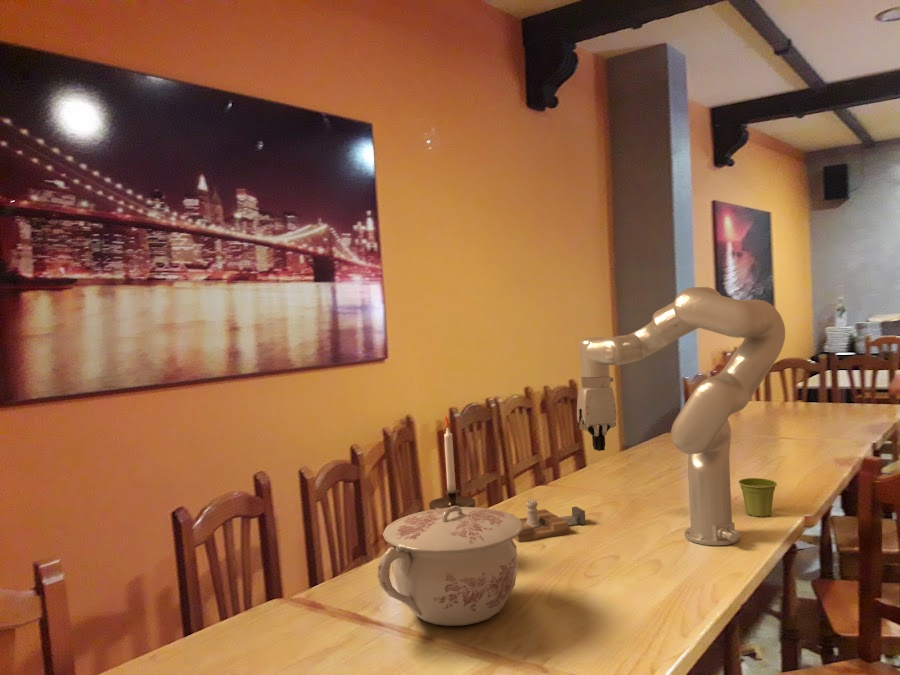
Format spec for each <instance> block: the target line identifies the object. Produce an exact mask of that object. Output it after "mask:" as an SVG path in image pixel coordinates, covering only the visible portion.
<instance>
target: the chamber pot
mask: <svg viewBox="0 0 900 675" xmlns="http://www.w3.org/2000/svg"><path fill="white" fill-rule="evenodd" d="M518 518H519V517H518V516H516V515H514V514H513V515H512V513H509V512H506V511H503V510H500V509H499V510H498V509H492V508H487V507H479V506H478V507H476V506H475V507H459V506H452V507H447V508H439V509H431V510H430V509H426V510H424V511H423V510H422V511H419V512H415V513H411V514H408V515H406V516H404V517H401V518H398V519H395V520H394V521H392V522H391V523H390V524H388V525H387V526H386V527H385V528H384V531H383V532H382V536H383V538H384V540H385V542H386V543H388V544H390V545H391V547H388V549H387V550H385V552H383V554H382V556H381V557H380V558H379V561H378V565H377V579H378V582H379V586H380V587H381V588H382V589H383V591H384V592H385V593H386V594H387V595H388V596H389V597H391V598H393V599H395V600H398V601H400V602H402V603H403V604H404V605H405V606H406V607H408V609H409V610H410V611H411V612H412V613H413V614H414V615H415V616H416V617H417V618H419V619H420V620H422V621H424V622H427V623H430V624H433V625H439V626H447V627H458V626H459V627H462V626H467V625H474V624H478V623H480V622H484V621H486V620H489V619H490V618H492V617H494V616H496V615H497V614H498V613H499V612H500V611H501V610H502V608H503V607H504V606H505V604H506V603H507V600H508V599H509V597H510V595H511V593H512V591H513V589H514V587H515V585H516V580H517V574H518V565H519V564H518V551H517V550H518V549H517V545H516V544H515V542H514V540H515V539H514V538H516V537H517V536H518V535H519V533H520V532H521V531H522V530H523V522H522V521H521V520H519V519H520V518H519V519H518ZM391 565H392V566H391ZM391 567H392V573H393V577H394V581H395V586H396V588H397V590H396V589H395V587H394V586H393V585H392V582H391V578H390V572H391V571H390V569H391Z"/></svg>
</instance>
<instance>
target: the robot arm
mask: <svg viewBox="0 0 900 675" xmlns="http://www.w3.org/2000/svg"><path fill="white" fill-rule="evenodd" d="M697 329H702V330H706V331H710V332H713V333H716V334H718V335H719V334H720V335H722V336H727V337H730V338H736V339H743V341H742V342H741V344H740V345H739V346H738V347H737V349H736V350H734V353H733V354H732V355H731V357H730V359H729V361H727V363H726V365H725V366H724V368H722V370H721V371H720V372H719V373H718V374H716V375H713V376H710V377H707V378H706V379H704V380H703V381H701V382H700V383H699V384H698V385H697V386H696V387H695V389H694V390H693V391H692V393H691V394H690V396H689V397H688V399H687V401H686V402H685V404H684V405H683V407H682V408H681V409H680V411H679V413H678V414H677V416H676V417H675V419H674V421H673V423H672V425H671V429H670V430H671V431H670V437H671V440H672V443H673V444H674V447H675V448H676V449H678V451H680V452H681V453H684V454H685V455H687V471H688V472H687V473H688V474H687V476H688V477H687V480H688V497H689V499H688V500H689V516H690V527H688V528H687V529H685V530H684V538H685V539H687V540H688V541H690V542H692V543H696V544H699V545H707V546H728V545H733V544H736V543H738V542H739V541H740V540H741V539H740V538H741V536H742V532H741V531H739V530H735V529H736V527H735V522H733V517H732V516H733V512H732V494H731V493H732V492H731V470H730V469H731V468H730V467H731V466H730V452H731V451H730V450H731V442H732V441H731V439H732V431H731V429H732V428H731V424H730V421H729V418H730V416H731V415H734V414H736V413H738V412H740V411H742V410H744V409H745V408H746V407H747V405H748V404H749V402H750V401H751V399H752V397H753V396H754V394H755V393H756V391H757V390H758V388H759V387H760V385H761V384H762V383H763V381H764V379H765V378H766V376H767V375H768V373H769V371H771V368H772V367H773V365H775V362H776V361H777V359H778V357H779V355H780V354H781V352H782V350H783V347H784V344H785V340H786V327H785V323H784V320H783V317H782V315H781V314H780V312H779V311H778V309H776V307H775V306H774V305H772V303H770V302H768V301H766V300H762V299H737V298H733V297H729V296H728V297H727V296H724V295H722V294H721V293H720V292H719V291H717V290H716V289H714V288H711V287H708V286H697V287H696V286H694V287H693V286H692V287H689V288H685V289H683V290H682V291H680V292H679V293H678V294H677V296H676V297H675V299H674V301H673V302H671V303H669V304H667V305H665V306H664V307H662V308H660V309H658V310H656V311H654V313H653V314H652V320H651V321H650V322H648V324H646V325H644V326H643V327H641V328H639V329H638V330H635V331H633V332H631V333H629V334H624V335H617V336H609V337H605V338H604V337H600V336H599V337H585V338H582V339H581V340H580V342H579V358H580V375H581V377H580V378H581V388H579V389H578V393H577V402H576V403H577V404H576V420H577V423H578V424H579V430H581V431H585V432H586V431H587V433H589V434H590V435H591V438H592V447H593V450H594V451H598V452H601V451H605V449H606V448H605V446H606V435H607V434H608V431H609V430H610V429H611V428H615V427H616V426H617V422H616V421H617V413H618V412H617V404H616V403H617V402H616V399H615V393H614V390H613V387H612V386H611V383H613V382H614V378H613V377H612V376H611V375H610V366H620V365H625V364H630V363H635V362H638V361H640V360H642V359H644V358H647V357H648V356H650V355H652V354H654V353H656V352H658V351H660V350H661V349H663V348H665V347H667V346H668V345H670V344H671V343H672V342H674V341H676V340H678V339H679V338H682V337H684V336H686V335H688V334H690V333H692V332H694V331H696V330H697Z"/></svg>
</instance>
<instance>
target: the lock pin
mask: <svg viewBox="0 0 900 675" xmlns="http://www.w3.org/2000/svg"><path fill="white" fill-rule="evenodd" d="M559 517H560V518H561V519H563V520H565V521H567V522H568V526H573V525H581V526H583V525H586V511H585V510H584V509H582V508H580V507H578V506H573V507H572V506H571V515H567V516H566V515H565V516H559ZM541 527H545V522H544V521H543V520H541Z"/></svg>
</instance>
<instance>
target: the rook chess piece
mask: <svg viewBox="0 0 900 675" xmlns="http://www.w3.org/2000/svg"><path fill="white" fill-rule="evenodd" d="M538 505H539V503H538V502H537V499H534V498H533V499H530V498H529V499H527V500H526V503H525V506H526V508H527V509H526V512H527V517H526V518H527V521H526V523H527V524H528V525H530V526H531V527H533V529H535V528H541V523H540V522H539V520H538V517H537V510H538V509H537V506H538Z"/></svg>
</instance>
